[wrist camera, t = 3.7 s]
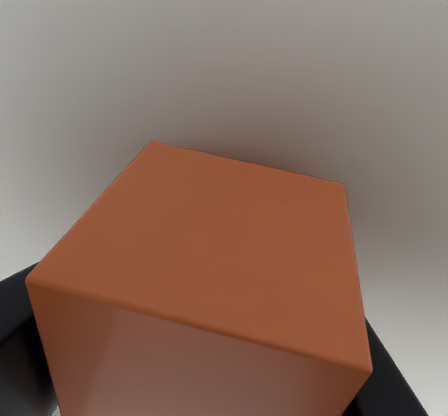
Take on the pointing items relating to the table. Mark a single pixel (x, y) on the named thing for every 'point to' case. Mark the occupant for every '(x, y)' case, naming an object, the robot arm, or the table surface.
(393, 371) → the robot arm
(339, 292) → the block
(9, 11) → the table surface
